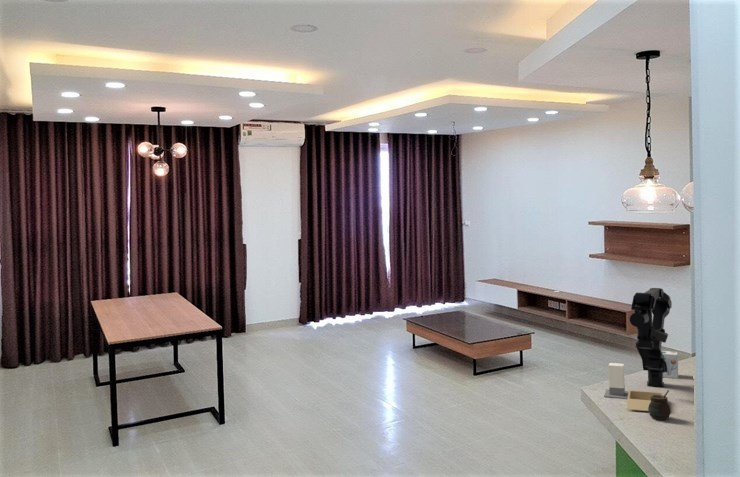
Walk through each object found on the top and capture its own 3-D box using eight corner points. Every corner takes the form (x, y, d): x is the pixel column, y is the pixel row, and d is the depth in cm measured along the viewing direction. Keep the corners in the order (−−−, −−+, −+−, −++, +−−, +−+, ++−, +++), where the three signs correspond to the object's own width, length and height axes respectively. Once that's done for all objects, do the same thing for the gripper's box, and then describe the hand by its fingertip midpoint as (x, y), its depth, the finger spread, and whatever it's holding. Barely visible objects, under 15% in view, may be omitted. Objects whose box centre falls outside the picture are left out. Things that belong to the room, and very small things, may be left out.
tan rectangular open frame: (629, 396, 246) (629, 387, 246) (663, 399, 241) (663, 390, 240) (627, 410, 229) (626, 401, 229) (663, 414, 223) (662, 404, 223)
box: (610, 391, 252) (609, 362, 252) (624, 392, 250) (624, 363, 250) (609, 394, 248) (608, 365, 248) (624, 395, 246) (623, 366, 246)
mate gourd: (643, 417, 221) (642, 389, 221) (659, 414, 224) (659, 387, 223) (659, 423, 214) (658, 394, 214) (675, 419, 217) (675, 391, 217)
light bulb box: (651, 376, 274) (651, 352, 274) (652, 373, 280) (651, 349, 280) (678, 378, 269) (677, 354, 269) (678, 375, 275) (677, 351, 275)
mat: (606, 390, 256) (606, 389, 256) (629, 392, 252) (629, 391, 252) (604, 397, 247) (604, 396, 247) (628, 399, 243) (628, 398, 243)
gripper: (666, 327, 238) (667, 367, 239) (666, 320, 255) (667, 357, 255) (635, 326, 243) (636, 365, 244) (637, 319, 260) (638, 355, 260)
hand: (645, 361), depth 250 cm, fingers open, 9 cm apart
